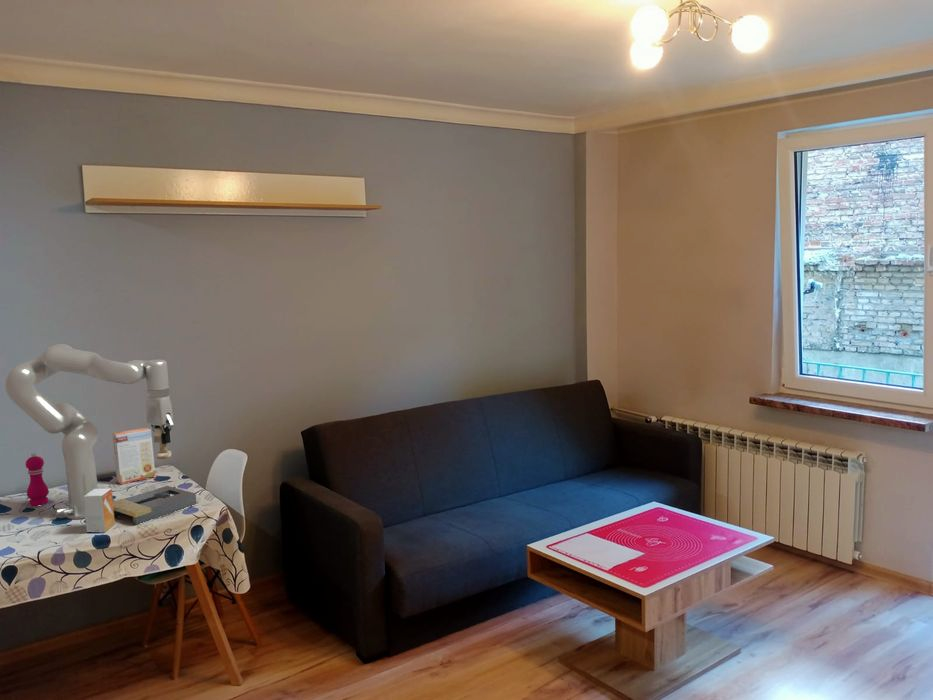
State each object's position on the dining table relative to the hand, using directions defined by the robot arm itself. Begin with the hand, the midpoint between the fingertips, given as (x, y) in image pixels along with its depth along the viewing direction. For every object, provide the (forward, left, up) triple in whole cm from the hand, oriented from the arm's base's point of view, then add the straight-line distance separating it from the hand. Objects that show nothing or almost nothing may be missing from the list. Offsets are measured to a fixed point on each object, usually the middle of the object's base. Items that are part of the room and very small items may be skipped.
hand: (162, 441), depth 271 cm
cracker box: (+12, +41, -25) cm, 49 cm away
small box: (-26, -1, -25) cm, 36 cm away
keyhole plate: (-6, 0, -24) cm, 25 cm away
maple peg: (0, 0, -6) cm, 6 cm away
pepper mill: (-25, +45, -25) cm, 57 cm away
